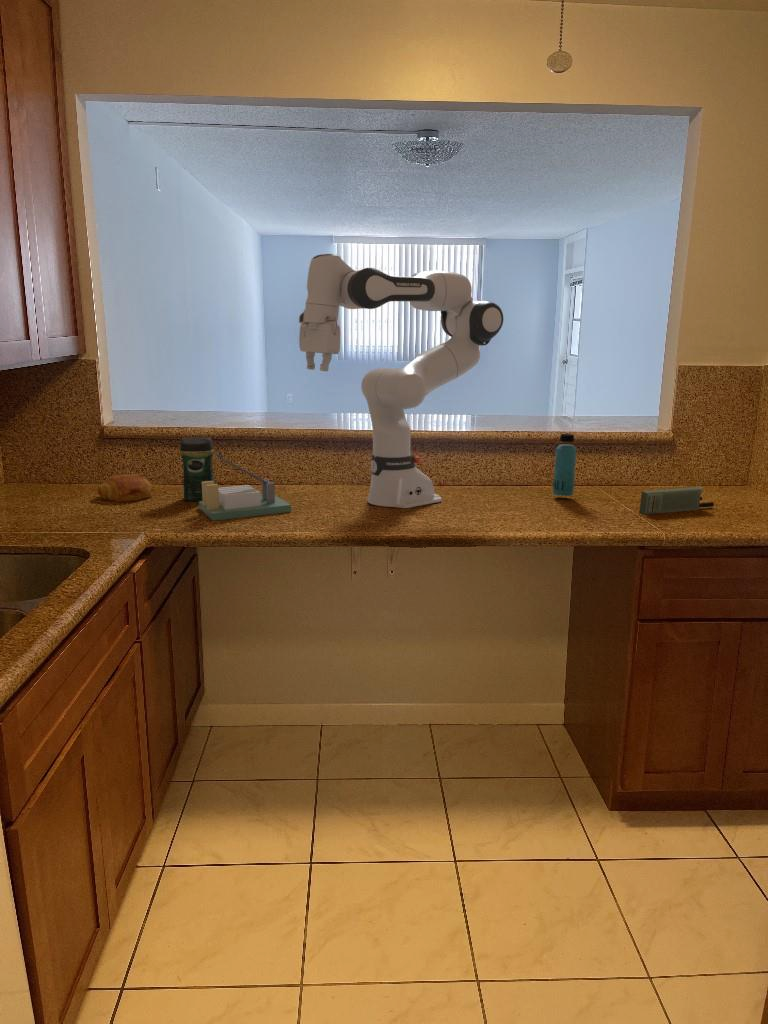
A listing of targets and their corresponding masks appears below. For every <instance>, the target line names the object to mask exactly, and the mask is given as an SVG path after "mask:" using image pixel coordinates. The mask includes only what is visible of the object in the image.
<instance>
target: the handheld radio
mask: <svg viewBox="0 0 768 1024" xmlns="http://www.w3.org/2000/svg"><path fill="white" fill-rule="evenodd" d="M703 489H704V487H702V486H696V487H695V486H693V487H681V488H667V489H653V490H642V491H641V496H640V503H639V510H638V511H639V512H638V513H640V514H642V515H651V514H663V513H664V514H666V513H675V512H676V513H677V512H687V511H688V512H689V511H698V510H700V508H708V507H709V508H710V507H711V508H712V507H714V506H715V504H714V502H713V501H710V502H709V501H708V502H701V503H700V501H702V500H703V497H702V496H701V495H702V494H703Z"/></svg>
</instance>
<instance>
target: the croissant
mask: <svg viewBox="0 0 768 1024" xmlns="http://www.w3.org/2000/svg"><path fill="white" fill-rule="evenodd" d="M152 486H153V485H152V484H151V482H150V481H148V480H147V479H146V478H144V477H143V476H142V475H139V474H137V473H124V474H116V475H111V476H108V477H107V478H106V479H105V480H103V482H102V483H101V484H100V485H99V486H98V489H97V494H98V495H99V496H100V497H101V499H102V500H105V501H106V500H107V501H110V502H116V503H120V502H123V503H124V502H125V503H126V502H134V501H140V500H144V499H148V498H151V497H152V490H153V487H152Z"/></svg>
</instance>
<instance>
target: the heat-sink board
mask: <svg viewBox="0 0 768 1024" xmlns="http://www.w3.org/2000/svg"><path fill="white" fill-rule="evenodd" d="M264 480H265V481H266V480H267V481H269V482H270V480H269V479H264ZM266 484H267V486H266V485H265V484H264V482H262V481H261V491H259V490H258V489H256V488H255V487H253V486H251V485H250V484H244V485H235V486H233V485H232V486H223V487H219V484H218V483H215V484H214V482H213V481H204V482H202V498H203V501H198V508H199V510H201V512H203V514H205V515H206V516H207V517H208V518H209V519H210V520H212V521H215V522H216V521H223V520H230V519H231V520H232V519H241V518H242V519H243V518H250V517H258V516H266V515H267V516H268V515H275V514H284V513H291V512H292V504H290V503H289V502H287V501H285V500H284V499H282V498H280V497H278V496H277V495H276V490H275V482H271V483H266Z"/></svg>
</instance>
